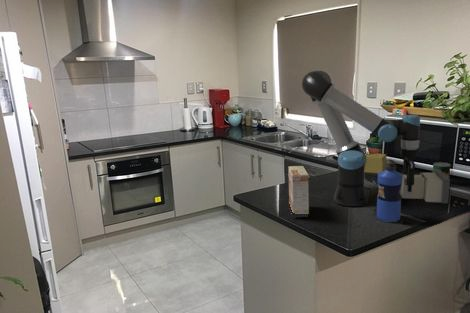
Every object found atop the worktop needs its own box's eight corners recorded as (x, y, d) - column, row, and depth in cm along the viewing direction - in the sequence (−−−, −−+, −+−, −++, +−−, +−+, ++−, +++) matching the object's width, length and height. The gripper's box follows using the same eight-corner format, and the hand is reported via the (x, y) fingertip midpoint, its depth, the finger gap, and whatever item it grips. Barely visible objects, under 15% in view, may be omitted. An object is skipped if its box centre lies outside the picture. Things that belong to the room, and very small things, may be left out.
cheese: (368, 168, 229) (369, 152, 227) (386, 170, 223) (387, 154, 221) (363, 172, 221) (363, 156, 219) (382, 174, 215) (382, 157, 212)
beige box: (402, 198, 175) (403, 177, 172) (400, 194, 180) (401, 174, 178) (423, 198, 172) (424, 178, 170) (420, 194, 178) (421, 174, 176)
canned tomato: (445, 188, 186) (447, 167, 183) (429, 185, 191) (430, 164, 189) (451, 184, 191) (453, 163, 188) (435, 181, 196) (436, 161, 194)
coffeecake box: (288, 206, 172) (287, 166, 168) (304, 205, 172) (303, 165, 168) (292, 219, 158) (291, 175, 153) (309, 218, 157) (309, 174, 153)
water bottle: (394, 213, 157) (397, 156, 152) (404, 222, 148) (407, 162, 143) (372, 214, 157) (374, 158, 152) (381, 223, 148) (383, 163, 143)
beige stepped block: (426, 202, 168) (428, 179, 165) (418, 191, 183) (420, 169, 181) (448, 203, 165) (450, 179, 163) (438, 191, 181) (440, 169, 178)
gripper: (423, 153, 161) (420, 202, 167) (413, 144, 180) (411, 188, 185) (405, 153, 163) (402, 201, 168) (397, 144, 182) (395, 188, 187)
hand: (407, 195), depth 177 cm, fingers open, 7 cm apart
